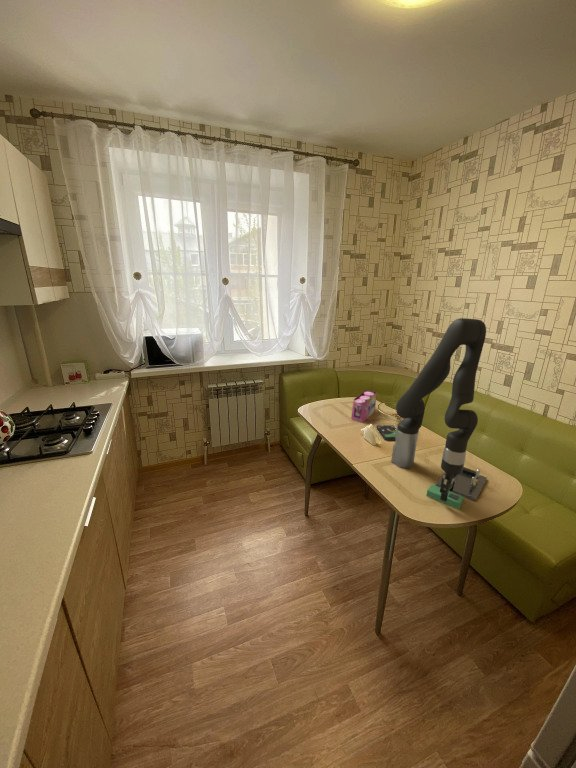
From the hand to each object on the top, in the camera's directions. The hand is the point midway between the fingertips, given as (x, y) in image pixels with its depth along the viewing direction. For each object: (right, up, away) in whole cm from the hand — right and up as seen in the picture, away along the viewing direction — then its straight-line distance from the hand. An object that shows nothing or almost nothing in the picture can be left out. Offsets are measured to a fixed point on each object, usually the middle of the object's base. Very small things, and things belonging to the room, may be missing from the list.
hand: (446, 495), depth 124 cm
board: (-1, -2, +1) cm, 2 cm away
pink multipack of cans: (-14, +23, +80) cm, 84 cm away
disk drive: (-5, +15, +54) cm, 57 cm away
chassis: (+12, +2, +12) cm, 17 cm away
